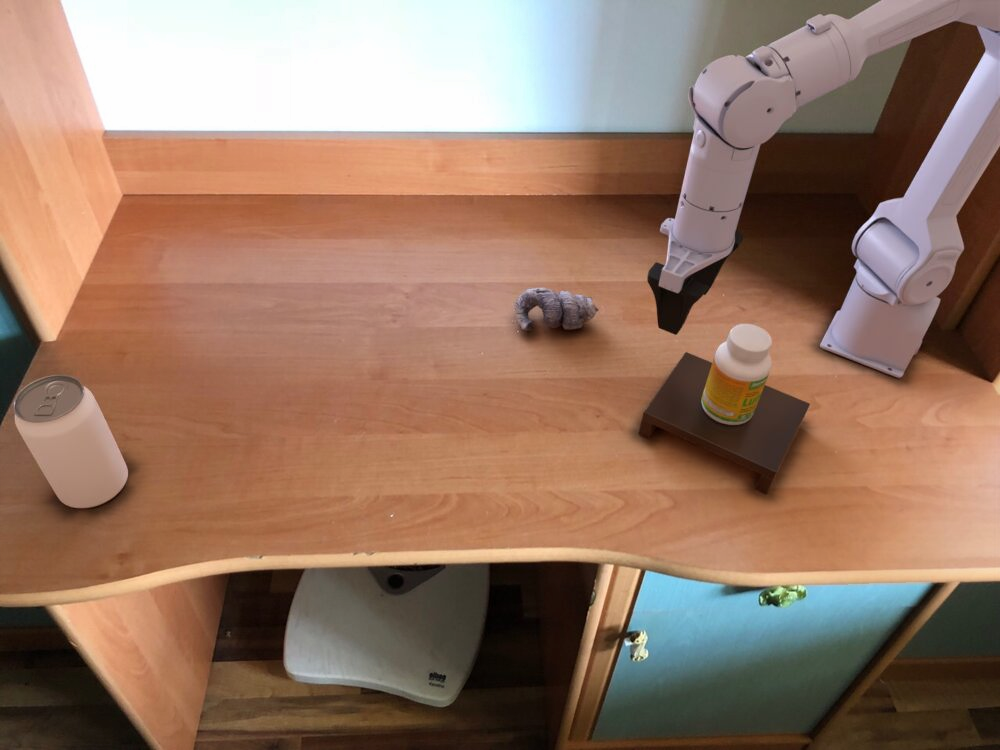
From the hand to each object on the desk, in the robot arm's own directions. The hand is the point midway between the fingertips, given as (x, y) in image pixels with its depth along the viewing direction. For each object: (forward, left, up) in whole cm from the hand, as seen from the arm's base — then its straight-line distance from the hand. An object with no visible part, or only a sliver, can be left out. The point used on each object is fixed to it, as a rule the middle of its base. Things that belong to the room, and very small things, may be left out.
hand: (683, 309), depth 82 cm
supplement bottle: (-8, +4, -7) cm, 11 cm away
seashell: (+15, -1, -10) cm, 18 cm away
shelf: (-8, +4, -10) cm, 14 cm away
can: (+40, +45, -10) cm, 61 cm away
